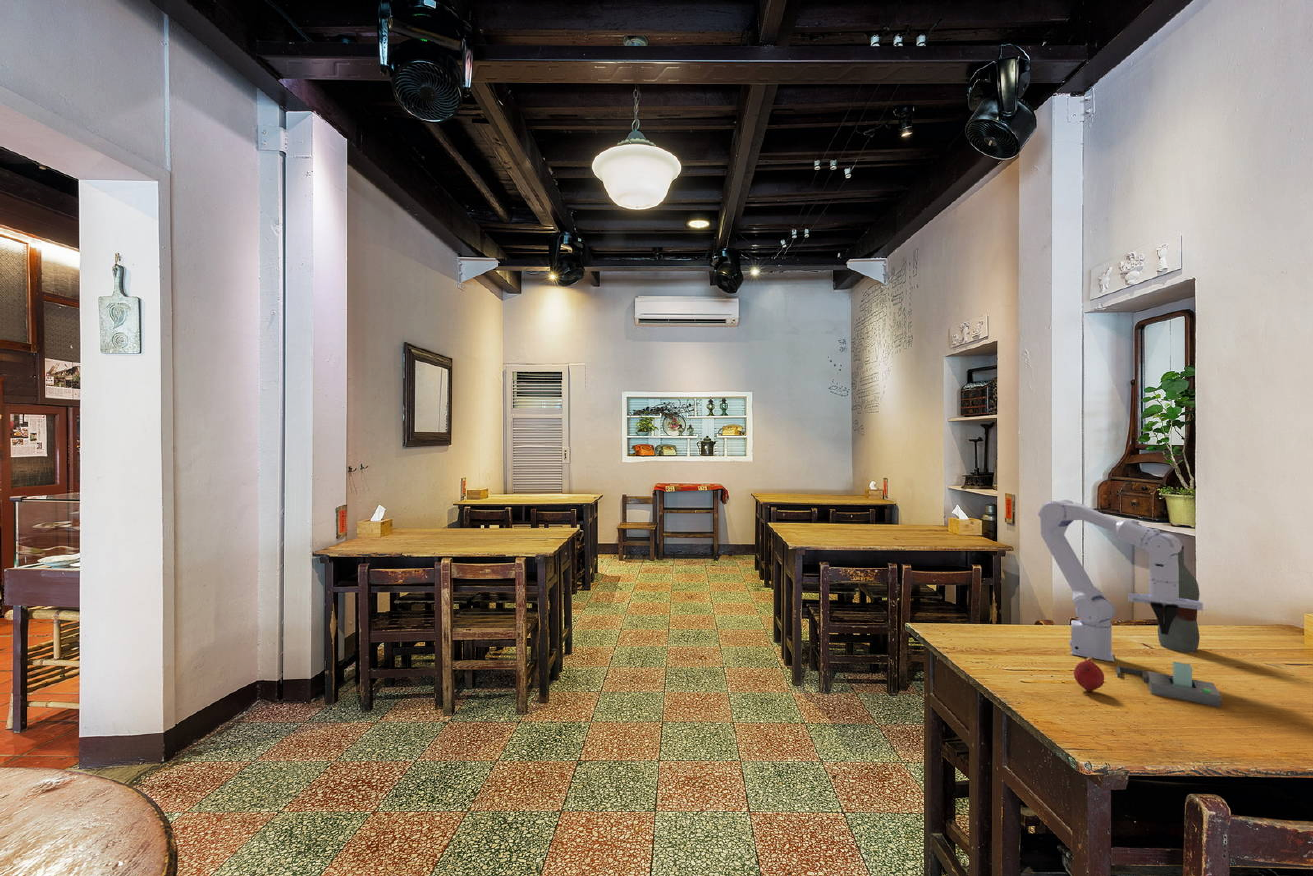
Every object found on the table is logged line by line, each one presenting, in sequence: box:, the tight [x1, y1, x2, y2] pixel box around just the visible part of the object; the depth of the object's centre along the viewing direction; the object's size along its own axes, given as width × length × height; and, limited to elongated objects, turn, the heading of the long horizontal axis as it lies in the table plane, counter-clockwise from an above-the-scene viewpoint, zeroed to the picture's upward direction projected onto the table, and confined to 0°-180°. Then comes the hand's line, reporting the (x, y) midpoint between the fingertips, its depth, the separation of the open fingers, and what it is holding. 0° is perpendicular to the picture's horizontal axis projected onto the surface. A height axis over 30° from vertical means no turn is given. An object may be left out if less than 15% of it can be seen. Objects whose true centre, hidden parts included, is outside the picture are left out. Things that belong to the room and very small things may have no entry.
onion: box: [1073, 657, 1105, 693], centre depth 139 cm, size 6×6×8 cm
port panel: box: [1146, 671, 1222, 708], centre depth 138 cm, size 12×9×3 cm
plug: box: [1172, 661, 1193, 687], centre depth 138 cm, size 3×3×7 cm
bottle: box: [1157, 544, 1201, 653], centre depth 171 cm, size 9×9×30 cm
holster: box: [1116, 665, 1148, 684], centre depth 149 cm, size 6×6×1 cm
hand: (1164, 633), depth 151 cm, fingers closed
